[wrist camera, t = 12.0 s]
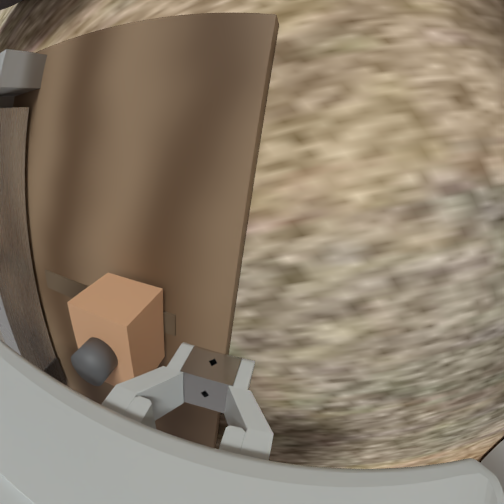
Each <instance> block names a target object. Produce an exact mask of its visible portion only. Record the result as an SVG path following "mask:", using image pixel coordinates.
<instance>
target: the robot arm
mask: <svg viewBox="0 0 504 504" xmlns="http://www.w3.org/2000/svg"><path fill="white" fill-rule="evenodd" d="M254 365H255V361H254V360H249V359H244V358H243V359H242V358H239V357H235V356H231V355H227V354H223V353H218V352H215V351H211V350H208V349H205V348H201V347H198V346H194V345H191V344H188V343H185V342H183V343H182V344H181V345H180V346H179V348H178V350H177V351H176V353H175V354H174V356H173V357H172V359H171V361H170V362H169V364H168V365H167V367H165V366H162V367H159V368H157V369H155V370H152V371H150V372H147V373H145V374H142V375H140V376H137V377H135V378H132V379H130V380H127V381H125V382H122V383H119V384H117V385H115V387H114V388H113V389H112V391H111V392H110V393H109V395H108V396H107V397H106V399H105V400H104V401H103V403H102V404H99V403H97V402H95V401H93V400H91V399H89V398H87V397H86V396H84V395H82V394H80V393H78V392H77V391H75V390H73V389H71V388H70V387H68V386H66V385H65V384H63V383H61V382H60V381H58V380H56V379H55V378H53V377H52V376H50V375H49V374H47V373H45V372H44V371H42V370H41V369H39V368H38V367H37V366H35V365H34V364H32V363H31V362H29V361H28V360H27V359H25V358H24V357H22V356H21V355H20V354H18V353H17V352H16V351H14V350H13V349H12V348H11V347H9V346H8V345H7V344H6V343H4V342H3V341H2V340H1V339H0V504H504V440H503V441H501V442H500V443H499V444H498V445H497V446H496V447H495V448H494V449H493V450H492V451H491V452H490V453H489V454H488V455H487V456H486V457H485V458H484V459H483V460H482V461H481V462H478V461H477V460H475V459H472V458H469V459H463V460H458V461H453V462H447V463H441V464H433V465H425V466H416V467H404V468H386V469H346V468H327V467H315V466H305V465H297V464H289V463H282V462H276V461H270V460H269V456H270V451H271V446H272V440H273V435H274V434H273V432H272V430H271V428H270V426H269V424H268V423H267V421H266V419H265V417H264V415H263V413H262V411H261V409H260V407H259V405H258V403H257V402H256V400H255V398H254V396H253V394H252V392H251V391H250V390H249V387H250V382H251V378H252V373H253V369H254ZM184 402H186V403H190V404H193V405H197V406H201V407H204V408H207V409H211V410H214V411H217V412H221V413H224V415H225V418H226V421H227V424H228V427H226V429H225V432H224V435H223V438H222V441H221V443H220V446H219V449H215V448H212V447H208V446H205V445H201V444H198V443H195V442H191V441H188V440H185V439H182V438H179V437H176V436H173V435H171V434H168V433H165V432H162V431H160V430H157V429H156V425H155V420H157V419H159V418H160V417H162V416H164V415H165V414H167V413H168V412H170V411H172V410H173V409H175V408H176V407H178V406H180V405H181V404H183V403H184Z"/></svg>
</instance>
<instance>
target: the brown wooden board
mask: <svg viewBox="0 0 504 504" xmlns="http://www.w3.org/2000/svg"><path fill="white" fill-rule="evenodd" d="M278 28H279V23H278V19H277V15H275V14H260V13H204V14H190V15H179V16H170V17H162V18H155V19H149V20H143V21H137V22H132V23H127V24H123V25H118V26H114V27H110V28H106V29H102V30H98V31H95V32H91V33H88V34H85V35H81V36H78V37H75V38H72V39H69V40H66V41H63V42H61V43H58V44H55V45H53V46H50V47H48V48H45V49H43V50H40V51H38V52H36V53H33V52H26V51H19V50H10V49H6V50H4V51H3V52H1V53H0V108H15V107H29V112H28V121H27V132H26V146H25V204H26V219H27V229H28V239H29V247H30V254H31V260H32V266H33V272H34V278H35V283H36V288H37V292H38V297H39V301H40V305H41V309H42V313H43V317H44V321H45V324H46V328H47V331H48V335H49V338H50V341H51V344H52V347H53V350H54V353H55V356H56V357H57V358H58V360H59V363H60V366H61V368H62V371H63V374H64V376H65V379H66V381H67V385H66V386H68V387H70V388H71V389H73V390H75V391H77V392H78V393H80V394H82V395H84V396H86V397H87V398H89V399H91V400H93V401H95V402H97V403H99V404H102V403H103V401H104V400H105V399H106V397H107V396H108V395H109V393H110V392H111V391H112V389H113V388H114V387H115V386H113V385H110V384H108V383H106V382H104V383H103V384H102V385H101V386H94V385H92V384H90V383H88V382H87V381H85V380H84V379H83V378H82V377H81V376H80V375H79V374H78V373H77V372H76V370H75V369H74V367H73V365H72V362H71V356H72V355H73V354H74V353H75V352H76V351H77V350H78V346H77V342H76V339H75V335H74V331H73V327H72V322H71V318H70V313H69V309H68V304H67V302H68V301H70V300H71V299H72V298H74V297H75V296H76V295H78V294H79V293H80V292H82V291H83V290H84V289H86V288H87V287H88V286H90V285H91V284H93V283H94V282H95V281H97V280H98V279H100V278H101V277H102V276H104V275H105V274H107V273H111V274H115V275H118V276H121V277H125V278H128V279H131V280H135V281H138V282H141V283H145V284H148V285H152V286H155V287H159V288H162V289H163V325H164V351H165V357H164V358H163V360H162V361H161V363H160V364H159V366H158V367H157V368H159V367H162V366H165V367H167V365H168V364H169V362H170V361H171V359H172V357H173V356H174V354H175V353H176V351H177V350H178V348H179V346H180V345H181V344H182V343H183V342H185V343H188V344H191V345H194V346H198V347H201V348H205V349H208V350H211V351H215V352H218V353H223V354H227V355H229V348H230V341H231V333H232V326H233V319H234V312H235V305H236V298H237V291H238V285H239V278H240V271H241V264H242V257H243V250H244V244H245V237H246V230H247V224H248V217H249V210H250V204H251V197H252V191H253V184H254V178H255V171H256V165H257V158H258V152H259V145H260V139H261V133H262V126H263V120H264V114H265V107H266V101H267V95H268V89H269V83H270V77H271V70H272V64H273V58H274V52H275V46H276V40H277V34H278ZM0 339H1V340H2V341H3V342H4V343H5V340H4V338H3V335H2V333H1V330H0ZM220 413H221V412H217V411H214V410H211V409H207V408H204V407H201V406H197V405H193V404H190V403H186V402H184V403H183V404H181V405H180V406H178V407H176V408H175V409H173V410H172V411H170V412H168V413H167V414H165V415H164V416H162V417H160V418H159V419H157V420H155V425H156V429H157V430H160V431H162V432H165V433H168V434H171V435H173V436H176V437H179V438H182V439H185V440H188V441H191V442H195V443H198V444H201V445H205V446H208V447H212V448H215V446H216V443H217V436H218V428H219V421H220Z"/></svg>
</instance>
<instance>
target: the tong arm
mask: <svg viewBox="0 0 504 504" xmlns="http://www.w3.org/2000/svg"><path fill="white" fill-rule="evenodd" d="M28 112H29V107H15V108H0V330H1V333H2V335H3V338H4V340H5V343H6V344H7V345H8V346H9V347H11V348H12V349H13V350H14V351H16V352H17V353H18V354H20V355H21V356H22V357H24V358H25V359H27V360H28V361H29V362H31V363H32V364H34V365H35V366H37V367H38V368H39V369H41V370H42V371H44V372H45V373H47V374H49V375H50V376H52V377H53V378H55V379H56V380H58V381H60V382H61V383H63V384H65V385H67V381H66V379H65V376H64V374H63V371H62V368H61V366H60V363H59V360H58V358H57V357H56V356H55V353H54V350H53V347H52V344H51V341H50V338H49V335H48V331H47V328H46V324H45V321H44V317H43V313H42V309H41V305H40V301H39V297H38V292H37V288H36V283H35V278H34V272H33V266H32V260H31V254H30V247H29V239H28V229H27V219H26V204H25V146H26V132H27V121H28Z"/></svg>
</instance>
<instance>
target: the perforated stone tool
mask: <svg viewBox="0 0 504 504" xmlns="http://www.w3.org/2000/svg"><path fill="white" fill-rule="evenodd" d="M21 1H22V0H0V10H1V9H5V8H7V7H10V6H12V5H15V4H16V3H19V2H21Z"/></svg>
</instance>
